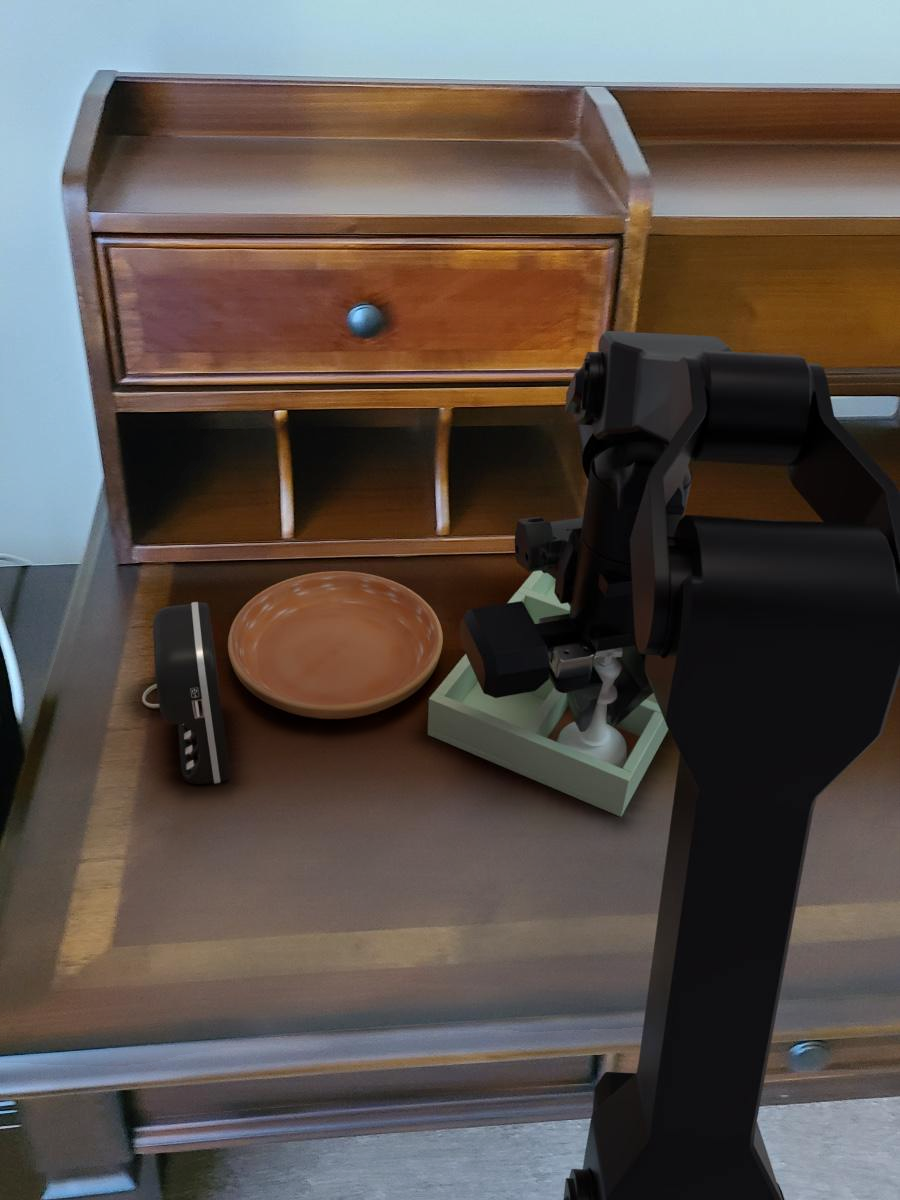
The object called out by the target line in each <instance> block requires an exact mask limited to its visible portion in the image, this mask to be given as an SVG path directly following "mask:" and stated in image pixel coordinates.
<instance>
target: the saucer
mask: <svg viewBox="0 0 900 1200" xmlns="http://www.w3.org/2000/svg"><path fill="white" fill-rule="evenodd" d="M443 641H444V635H443V630H442V626H441V622H440V620H439V619H438V616H437V614H436V613H435V611H434V609H433V608H432V607H431V606H430V605H429V604H428V603H427V602H426V600H425V599H424V598H422V597H421V596H420V595H419V594H417V593H416V592H414V591H413V590H412V589H410V588H408V587H407V586H404V585H403V584H400V583H398V582H396V581H393V580H391V579H389V578H385V577H382V576H379V575H374V574H370V573H365V572H364V573H363V572H357V571H346V570H345V571H344V570H341V571H338V570H336V571H335V570H334V571H333V570H332V571H319V572H313V573H307V574H302V575H298V576H295V577H291V578H288V579H285V580H283V581H280V582H277V583H276V584H273V585H271V586H269V587H267V588H266V589H264V590H262V591H260V592H259V593H257V594H256V595H255V596H254V597H252V598H251V599H250V600H248V602H247V603H246V604H245V605H244V606H243V607H242V608H241V609H240V610H239V611H238V613H237V614H236V616H235V618H234V620H233V621H232V624H231V626H230V630H229V633H228V638H227V652H228V657H229V660H230V663H231V666H232V669H233V671H234V673H235V675H236V678H238V680H239V682H241V684H242V685H243V686H244V687H245V688H246V690H248V691H249V692H250V693H251V694H252V695H253V696H255V697H256V698H258V699H259V700H261V701H262V702H264V703H265V704H268V705H270V706H272V707H274V708H276V709H279V710H281V711H284V712H286V713H289V714H292V715H296V716H300V717H305V718H306V717H307V718H312V719H320V720H344V719H352V718H361V717H365V716H369V715H372V714H376V713H378V712H381V711H384V710H386V709H389V708H391V707H393V706H395V705H397V704H399V703H402V702H403V701H405V700H406V699H408V698H409V697H411V696H412V695H413V694H415V693H416V692H417V691H419V690H420V689H421V688H422V687H423V686H424V685H425V684H426V683H427V681H429V679H430V678H431V676H432V675H433V674H434V672H435V670H436V668H437V666H438V664H439V660H440V657H441V654H442V649H443V644H444V643H443Z"/></svg>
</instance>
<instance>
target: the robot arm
mask: <svg viewBox="0 0 900 1200" xmlns="http://www.w3.org/2000/svg"><path fill="white" fill-rule="evenodd" d="M830 392H831V391H830V385H829V381H828V378H827V374H826V371H825V369H824V366H822V365H820V364H819V363H813V362H808V361H807V360H806V359H805V358H804V357H803V356H801V355H799V354H797V355H796V354H779V353H762V352H761V353H759V352H742V351H741V352H739V351H733V350H732V349H731V347H730V346H729V345H728V344H727V343H725V342H723V341H722V340H721V339H720V338H719V337H717V336H709V335H693V334H691V335H690V334H675V333H674V334H673V333H652V332H632V331H616V330H606V331H604V333H602V335H601V336H600V338H599V341H598V351H587V352H586V354H585V357H584V359H583V363H582V366H581V367H580V368H578V370H576V371H575V372H574V374H573V376H572V378H571V380H570V383H569V385H568V388H567V390H566V393H565V408H564V409H565V410H564V411H565V412H564V413H565V414H571V415H572V417H573V423H574V425H577V432H578V441H579V449H580V457H581V464H582V470H583V472H584V475H585V477H586V479H587V486H586V487H587V488H586V496H585V503H584V509H583V515H582V517H577V518H570V519H562V520H554V521H548V520H545V519H544V517H542V516H536V517H529V518H521V519H517V522H516V528H515V532H514V533H515V535H514V556H515V561H516V563H517V564H518V565H519V566H520V567H521V568H523V569H524V570H526V572H528V573H533V571H540V570H541V571H542V572H543V573H548V574H549V575H551V576H552V577H553V578H555V579H556V582H555V590H554V593H555V595H556V597H557V598H558V600H559V602H560V603H561V604H563V603H568V604H569V606H570V612H569V614H563V615H556V616H550V617H544V618H540V619H539V622H538V624H535V623H534V621H533V619H532V618H531V616H530V614H529V612H528V610H527V608H526V607H525V605H524V603H523V601H518V602H512V603H508V602H507V603H500V604H492V605H487V606H479V607H473V608H470V609H468V610H466V611H465V612H464V614H463V616H462V618H461V619H460V623H459V624H460V625H459V637H458V638H459V643H460V645H461V647H462V649H463V651H464V653H465V654H466V656H467V658H468V660H469V662H470V664H471V667H472V669H473V671H474V673H475V675H476V678H477V680H478V682H479V684H480V686H481V688H482V691H483V693H484V694H486V695H489V696H491V697H494V698H499V697H504V696H510V695H516V694H521V693H527V692H533V691H536V690H537V689H538V688H540V687H541V686H542V685H543V684H544V683H545V682H546V681H548V680H549V678H550V680H551V682H552V684H553V686H554V688H555V689H556V690H557V691H558V692H560V693H567V696H568V700H569V703H570V707H571V710H572V714H573V717H574V720H575V723H576V725H577V727H578V729H579V731H580V732H584V731H586V730H587V728H588V726H589V724H590V723H591V720H592V717H593V714H594V711H595V707H596V704H597V701H598V698H599V695H600V692H601V688H602V685H603V681H602V680H601V678H600V676H599V674H598V673H597V671H596V669H595V668H594V666H593V661H594V657H595V655H596V652H599V651H605V650H611V649H617V648H622V657H616V659H617V660H618V661H619V662H620V664H621V667H622V669H621V672H620V674H619V675H618V677H617V678H616V679H615V681H614V683H613V685H614V686H615V687H616V689H617V698H616V700H615V701H614V702H612V703H609V704H607V719H608V720H609V722H610V724H611V725H612V726H616V725H618V724H619V723H620V722H621V721H622V720H624V719H625V718H626V717H627V716H628V715H629V714H630V713H631V712H632V711H633V710H635V709H636V708H637V707H638V706H639V705H640V704H641V703H642V702H643V701H645V700H646V699H647V698H648V697H649V696H650V695H651V694H653V693H654V695H655V698H656V700H657V703H658V705H659V708H660V710H661V713H662V715H663V718H664V720H665V723H666V725H667V727H668V732H669V734H670V736H671V737H672V739H673V741H674V744H675V745H676V748H677V749H678V751H679V755H678V756H679V757H678V763H677V772H676V779H675V787H674V795H673V802H672V809H671V817H670V825H669V832H668V841H667V845H666V846H667V847H666V855H665V862H664V870H663V877H662V884H661V892H660V898H659V906H658V913H657V922H656V928H655V937H654V944H653V952H652V959H651V967H650V975H649V982H648V990H647V997H646V1004H645V1012H644V1018H643V1026H642V1034H641V1042H640V1048H639V1056H638V1064H637V1068H636V1069H637V1070H636V1072H618V1071H605V1072H604V1073H603V1075H602V1076H601V1077H600V1079H599V1080H598V1082H597V1083H596V1085H595V1086H594V1090H593V1100H592V1113H591V1117H590V1122H589V1129H588V1134H587V1140H586V1145H585V1152H584V1158H583V1163H582V1169H581V1168H572V1169H571V1170H570V1173H569V1177H566V1178H565V1181H564V1191H563V1199H562V1200H786V1199H785V1196H784V1193H783V1190H782V1188H781V1186H780V1184H779V1183H778V1182H777V1178H776V1176H775V1173H774V1169H773V1166H772V1163H771V1160H770V1157H769V1153H768V1151H767V1148H766V1144H765V1141H764V1138H763V1135H762V1133H761V1129H760V1126H759V1123H758V1118H759V1111H760V1107H761V1100H762V1095H763V1090H764V1085H765V1079H766V1075H767V1074H766V1073H767V1067H768V1062H769V1056H770V1053H771V1052H770V1051H771V1046H772V1040H773V1035H774V1029H775V1024H776V1018H777V1012H778V1008H779V1007H778V1006H779V1002H780V996H781V991H782V986H783V980H784V975H785V969H786V963H787V957H788V952H789V948H790V942H791V936H792V930H793V925H794V919H795V915H796V908H797V904H798V897H799V891H800V887H801V881H802V875H803V870H804V864H805V859H806V853H807V848H808V842H809V836H810V831H811V826H812V822H813V821H812V820H813V815H814V810H815V807H816V802H817V800H818V798H819V796H821V795H822V793H823V792H825V791H826V789H828V788H829V787H830V786H831V785H832V784H833V783H834V782H835V781H836V780H837V779H838V778H839V777H840V776H841V775H842V774H843V773H844V772H845V771H846V770H847V769H848V768H849V767H850V766H852V764H854V763H855V762H856V761H857V760H858V759H859V758H860V757H861V756H862V755H863V754H864V753H865V752H866V751H867V750H868V749H869V748H870V747H871V746H872V745H873V744H875V742H876V741H877V740H878V739H879V738H880V737H881V735H882V734H883V732H884V730H885V726H886V722H887V719H888V716H889V713H890V709H891V706H892V702H893V701H894V700H893V699H894V696H895V693H896V690H897V687H898V683H899V679H900V490H899V489H898V486H897V485H896V483H895V482H894V481H893V480H892V478H891V477H890V476H889V475H888V474H887V472H886V471H885V470H883V469H882V467H881V466H880V465H879V464H878V463H877V462H876V461H875V460H874V458H872V456H871V455H870V454H869V453H868V452H867V451H866V450H865V448H863V447H862V445H861V444H860V443H859V442H858V441H857V440H856V439H855V437H854V436H852V433H850V432H849V431H848V430H847V429H846V428H845V427H844V426H843V424H842V423H841V422H840V421H839V420H838V419H837V418H836V416H835V414H834V413H835V412H834V408H833V403H832V398H831V393H830ZM690 461H691V462H695V463H696V462H699V463H717V464H718V463H719V464H737V465H752V466H753V465H756V466H775V467H786V468H787V474H788V478H789V480H790V483H791V485H792V486H793V488H794V489H795V490H796V491H797V492H798V494H799V495H800V496H801V497H802V498H803V500H804V501H805V502H806V503H807V504H808V505H809V507H810V508H811V509H812V510H813V511H814V513H815V514H816V515H817V516H818V517H819V518H820V520H821V521H813V520H797V519H796V520H795V519H793V520H792V519H776V518H775V519H774V518H757V517H756V518H755V517H740V516H739V517H738V516H717V515H699V514H698V515H697V514H686V510H687V509H686V508H687V504H688V500H689V496H690V495H689V494H690V489H691V486H692V481H693V473H692V470H691V468H690V467H689V464H690Z"/></svg>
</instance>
